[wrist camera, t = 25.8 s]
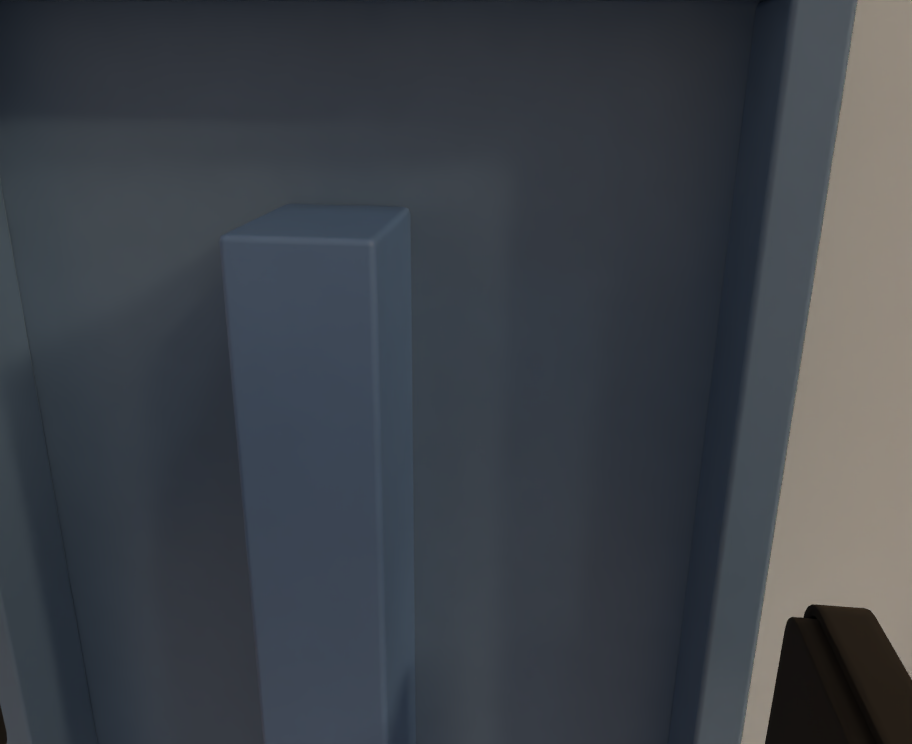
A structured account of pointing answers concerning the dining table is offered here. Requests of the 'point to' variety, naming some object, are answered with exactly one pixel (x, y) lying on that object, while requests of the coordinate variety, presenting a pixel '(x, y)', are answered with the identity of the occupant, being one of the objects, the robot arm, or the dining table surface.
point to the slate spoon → (326, 466)
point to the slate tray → (413, 343)
